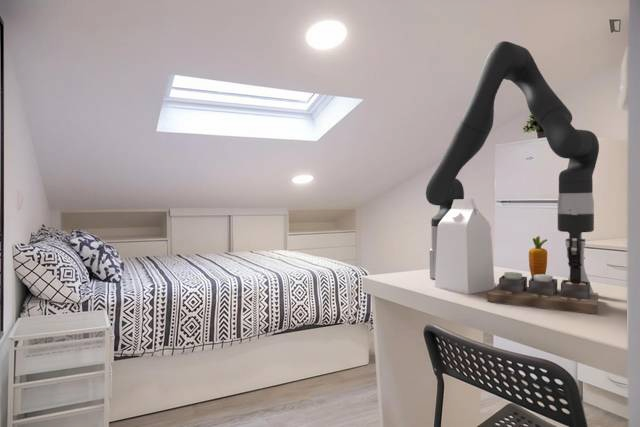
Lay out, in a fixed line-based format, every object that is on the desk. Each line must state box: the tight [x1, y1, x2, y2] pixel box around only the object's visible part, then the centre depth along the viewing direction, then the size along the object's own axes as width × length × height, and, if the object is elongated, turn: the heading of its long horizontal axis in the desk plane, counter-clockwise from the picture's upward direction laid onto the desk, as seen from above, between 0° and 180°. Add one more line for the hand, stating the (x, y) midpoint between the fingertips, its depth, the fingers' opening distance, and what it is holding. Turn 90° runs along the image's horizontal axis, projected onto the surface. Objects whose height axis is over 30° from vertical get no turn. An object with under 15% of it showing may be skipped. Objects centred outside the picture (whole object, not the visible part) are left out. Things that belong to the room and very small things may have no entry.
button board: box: [486, 274, 599, 315], centre depth 103 cm, size 23×14×5 cm, turn 55°
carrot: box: [528, 235, 548, 278], centre depth 119 cm, size 5×5×15 cm
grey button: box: [534, 274, 554, 283], centre depth 104 cm, size 4×4×2 cm
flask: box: [567, 256, 595, 293], centre depth 110 cm, size 7×7×10 cm
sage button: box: [503, 271, 523, 280], centre depth 108 cm, size 4×4×2 cm
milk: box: [434, 198, 496, 295], centre depth 120 cm, size 12×12×26 cm
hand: (575, 282), depth 100 cm, fingers closed
